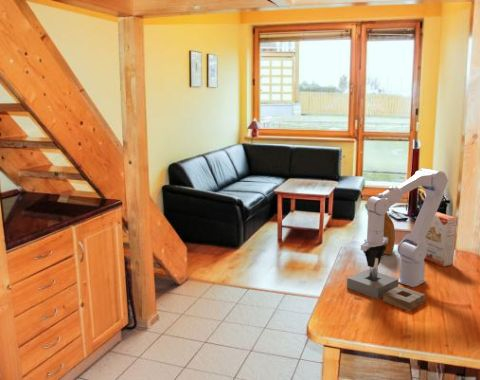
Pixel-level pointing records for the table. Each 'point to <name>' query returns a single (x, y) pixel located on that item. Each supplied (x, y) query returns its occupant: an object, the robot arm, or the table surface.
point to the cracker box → (441, 239)
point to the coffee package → (389, 234)
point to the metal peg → (374, 269)
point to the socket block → (404, 298)
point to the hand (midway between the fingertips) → (373, 265)
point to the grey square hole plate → (371, 284)
